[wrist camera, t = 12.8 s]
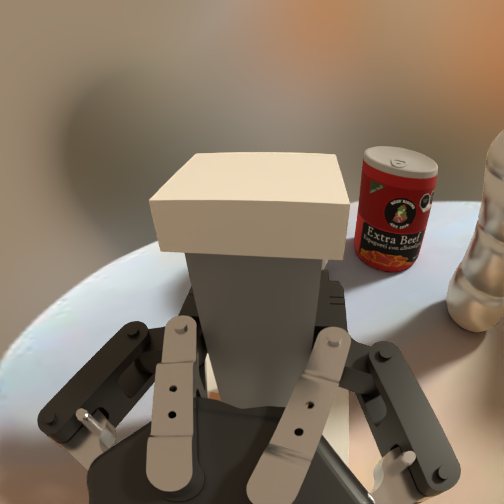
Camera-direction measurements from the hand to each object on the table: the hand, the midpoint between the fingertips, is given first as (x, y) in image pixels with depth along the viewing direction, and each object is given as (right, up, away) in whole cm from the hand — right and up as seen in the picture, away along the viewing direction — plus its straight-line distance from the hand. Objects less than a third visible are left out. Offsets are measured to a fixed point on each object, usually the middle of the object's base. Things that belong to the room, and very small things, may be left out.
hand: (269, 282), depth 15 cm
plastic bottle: (+19, -5, +9) cm, 22 cm away
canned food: (+14, +1, +18) cm, 23 cm away
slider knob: (0, -8, +2) cm, 8 cm away
